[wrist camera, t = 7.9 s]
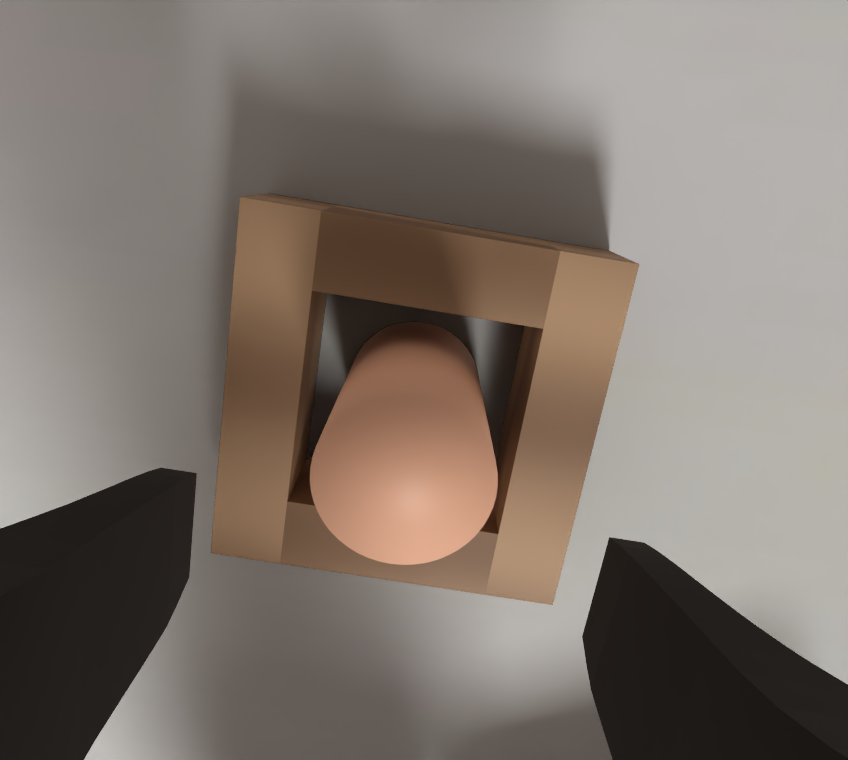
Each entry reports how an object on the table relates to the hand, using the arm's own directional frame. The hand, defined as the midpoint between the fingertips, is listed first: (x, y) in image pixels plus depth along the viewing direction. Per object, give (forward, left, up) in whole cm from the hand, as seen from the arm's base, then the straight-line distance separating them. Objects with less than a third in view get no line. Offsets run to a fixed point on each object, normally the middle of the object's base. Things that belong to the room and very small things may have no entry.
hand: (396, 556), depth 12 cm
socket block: (0, 0, -10) cm, 10 cm away
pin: (0, 0, -10) cm, 10 cm away
